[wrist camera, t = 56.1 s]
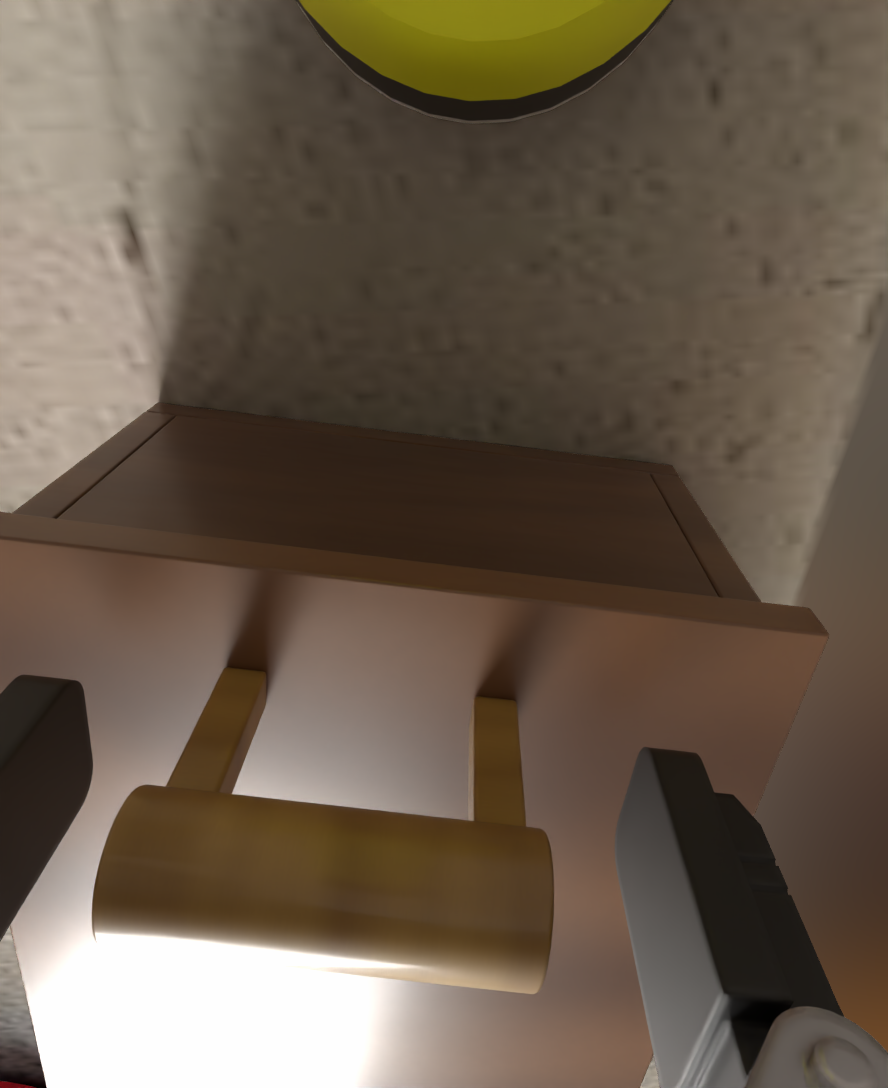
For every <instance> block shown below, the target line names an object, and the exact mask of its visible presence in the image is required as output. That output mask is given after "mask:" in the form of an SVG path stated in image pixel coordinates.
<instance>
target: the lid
mask: <svg viewBox="0 0 888 1088" xmlns="http://www.w3.org/2000/svg"><path fill="white" fill-rule="evenodd" d="M828 639H829V633H828V632H827V630H826V629H825V628H824V626H823V625H822V624H821V622H820V621H819V620H818V618H817V617H816V616H815V615H814V613H813V612H812V610H811V609H809V608H805V607H797V606H789V605H780V604H772V603H763V602H755V601H747V600H738V599H730V598H721V597H713V596H704V595H696V594H688V593H679V592H671V591H662V590H654V589H645V588H637V587H629V586H620V585H612V584H603V583H595V582H586V581H578V580H569V579H561V578H553V577H544V576H536V575H527V574H519V573H510V572H502V571H494V570H485V569H477V568H468V567H460V566H451V565H443V564H435V563H426V562H418V561H409V560H401V559H392V558H384V557H376V556H367V555H359V554H350V553H342V552H333V551H325V550H317V549H308V548H300V547H291V546H283V545H274V544H266V543H258V542H249V541H241V540H232V539H224V538H215V537H207V536H198V535H190V534H182V533H173V532H165V531H156V530H148V529H139V528H131V527H123V526H114V525H106V524H97V523H89V522H80V521H72V520H64V519H55V518H47V517H38V516H30V515H21V514H13V513H5V512H0V694H1V693H2V692H3V691H4V690H5V688H6V687H7V686H8V685H9V684H10V683H11V682H12V681H13V680H14V679H15V678H16V677H18V676H20V675H34V676H43V677H52V678H60V679H69V680H76V681H79V682H80V683H81V685H82V687H83V690H84V695H85V702H86V710H87V718H88V726H89V733H90V741H91V749H92V756H93V774H92V780H91V784H90V788H89V791H88V794H87V797H86V799H85V802H84V804H83V806H82V807H81V809H80V811H79V813H78V814H77V816H76V817H75V819H74V821H73V822H72V824H71V826H70V827H69V829H68V831H67V832H66V834H65V836H64V837H63V839H62V841H61V842H60V844H59V845H58V847H57V849H56V850H55V852H54V854H53V855H52V857H51V859H50V860H49V862H48V864H47V865H46V867H45V869H44V870H43V872H42V873H41V875H40V877H39V878H38V880H37V882H36V883H35V885H34V887H33V888H32V890H31V892H30V893H29V895H28V896H27V898H26V900H25V901H24V903H23V905H22V906H21V908H20V910H19V911H18V913H17V915H16V916H15V918H14V920H13V921H12V923H11V924H10V929H11V933H12V938H13V942H14V946H15V951H16V955H17V960H18V964H19V968H20V973H21V977H22V982H23V986H24V990H25V995H26V999H27V1003H28V1008H29V1012H30V1017H31V1021H32V1025H33V1030H34V1034H35V1039H36V1043H37V1047H38V1052H39V1056H40V1060H41V1065H42V1069H43V1074H44V1078H45V1082H46V1087H47V1088H640V1086H641V1083H642V1081H643V1079H644V1076H645V1074H646V1071H647V1069H648V1067H649V1064H650V1062H651V1060H652V1057H653V1055H654V1054H653V1049H652V1044H651V1039H650V1034H649V1029H648V1024H647V1019H646V1014H645V1009H644V1004H643V999H642V994H641V989H640V984H639V979H638V974H637V969H636V964H635V959H634V954H633V949H632V944H631V939H630V934H629V929H628V924H627V919H626V914H625V909H624V905H623V900H622V895H621V890H620V885H619V880H618V875H617V870H616V863H615V834H616V827H617V822H618V819H619V815H620V812H621V809H622V806H623V802H624V799H625V796H626V793H627V789H628V786H629V783H630V780H631V776H632V773H633V770H634V766H635V763H636V760H637V757H638V754H639V752H640V751H641V749H642V748H644V747H650V748H659V749H668V750H677V751H685V752H694V753H697V754H698V755H699V756H700V758H701V759H702V762H703V764H704V767H705V769H706V772H707V774H708V777H709V780H710V782H711V785H712V788H713V790H714V792H716V793H725V794H734V795H735V797H736V798H737V799H738V800H739V801H740V802H741V803H742V805H743V806H744V807H745V808H746V809H747V810H748V811H749V812H750V814H751V815H752V816H753V817H754V815H755V812H756V810H757V807H758V805H759V803H760V800H761V798H762V796H763V793H764V791H765V788H766V786H767V784H768V781H769V779H770V776H771V774H772V772H773V769H774V767H775V765H776V762H777V760H778V757H779V755H780V753H781V750H782V748H783V746H784V743H785V741H786V739H787V736H788V734H789V731H790V729H791V727H792V724H793V722H794V719H795V717H796V715H797V712H798V710H799V707H800V705H801V703H802V700H803V698H804V696H805V693H806V691H807V689H808V686H809V684H810V681H811V679H812V677H813V674H814V672H815V670H816V667H817V665H818V662H819V660H820V658H821V655H822V653H823V651H824V648H825V646H826V643H827V641H828Z"/></svg>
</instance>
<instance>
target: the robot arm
mask: <svg viewBox="0 0 888 1088" xmlns="http://www.w3.org/2000/svg"><path fill="white" fill-rule="evenodd" d="M92 774H93V756H92V749H91V741H90V733H89V726H88V718H87V710H86V702H85V695H84V690H83V687H82V685H81V683H80V682H79V681H76V680H69V679H60V678H52V677H43V676H34V675H20V676H18V677H16V678H15V679H14V680H13V681H12V682H11V683H10V684H9V685H8V686H7V687H6V688H5V690H4V691H3V692H2V693H1V694H0V941H1V939H2V938H3V936H4V934H5V933H6V931H7V929H8V928H9V926H10V924H11V923H12V921H13V920H14V918H15V916H16V915H17V913H18V911H19V910H20V908H21V906H22V905H23V903H24V901H25V900H26V898H27V896H28V895H29V893H30V892H31V890H32V888H33V887H34V885H35V883H36V882H37V880H38V878H39V877H40V875H41V873H42V872H43V870H44V869H45V867H46V865H47V864H48V862H49V860H50V859H51V857H52V855H53V854H54V852H55V850H56V849H57V847H58V845H59V844H60V842H61V841H62V839H63V837H64V836H65V834H66V832H67V831H68V829H69V827H70V826H71V824H72V822H73V821H74V819H75V817H76V816H77V814H78V813H79V811H80V809H81V807H82V806H83V804H84V802H85V799H86V797H87V794H88V791H89V788H90V784H91V780H92ZM615 863H616V870H617V875H618V880H619V885H620V890H621V895H622V900H623V905H624V909H625V914H626V919H627V924H628V929H629V934H630V939H631V944H632V949H633V954H634V959H635V964H636V969H637V974H638V979H639V984H640V989H641V994H642V999H643V1004H644V1009H645V1014H646V1019H647V1024H648V1029H649V1034H650V1039H651V1044H652V1049H653V1054H654V1059H655V1064H656V1069H657V1074H658V1079H659V1084H660V1088H888V1053H887V1051H886V1050H885V1049H884V1048H883V1047H882V1046H881V1045H880V1044H879V1043H878V1042H877V1041H876V1040H875V1039H874V1038H873V1037H872V1036H871V1035H870V1034H868V1033H867V1032H866V1031H864V1030H863V1029H862V1028H861V1027H859V1026H858V1025H856V1024H855V1023H853V1022H852V1021H850V1020H848V1019H846V1018H845V1017H844V1015H843V1013H842V1011H841V1009H840V1007H839V1005H838V1003H837V1001H836V998H835V996H834V994H833V991H832V989H831V987H830V984H829V982H828V980H827V977H826V975H825V973H824V970H823V968H822V966H821V964H820V961H819V960H818V957H817V954H816V952H815V950H814V947H813V945H812V943H811V941H810V938H809V936H808V934H807V931H806V929H805V927H804V924H803V922H802V920H801V917H800V915H799V913H798V910H797V908H796V906H795V903H794V901H793V899H792V896H791V895H788V893H787V889H788V887H787V885H786V883H785V880H784V878H783V876H782V873H781V871H780V869H779V866H776V865H775V857H774V855H773V852H772V850H771V848H770V845H769V843H768V841H767V839H766V836H765V834H764V832H763V829H762V827H761V825H760V824H759V823H758V822H757V820H756V819H755V818H754V817H753V816H752V815H751V814H750V812H749V811H748V810H747V809H746V808H745V807H744V806H743V805H742V803H741V802H740V801H739V800H738V799H737V798H736V797H735V795H734V794H725V793H716V792H714V790H713V788H712V785H711V782H710V780H709V777H708V774H707V772H706V769H705V767H704V764H703V762H702V759H701V758H700V756H699V755H698V754H697V753H694V752H685V751H677V750H668V749H659V748H650V747H644V748H642V749H641V751H640V752H639V754H638V757H637V760H636V763H635V766H634V770H633V773H632V776H631V780H630V783H629V786H628V789H627V793H626V796H625V799H624V802H623V806H622V809H621V812H620V815H619V819H618V822H617V827H616V834H615Z"/></svg>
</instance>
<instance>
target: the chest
mask: <svg viewBox="0 0 888 1088" xmlns="http://www.w3.org/2000/svg"><path fill="white" fill-rule="evenodd" d="M13 514H21V515H30V516H38V517H47V518H55V519H64V520H72V521H80V522H89V523H97V524H106V525H114V526H123V527H131V528H139V529H148V530H156V531H165V532H173V533H182V534H190V535H198V536H207V537H215V538H224V539H232V540H241V541H249V542H258V543H266V544H274V545H283V546H291V547H300V548H308V549H317V550H325V551H333V552H342V553H350V554H359V555H367V556H376V557H384V558H392V559H401V560H409V561H418V562H426V563H435V564H443V565H451V566H460V567H468V568H477V569H485V570H494V571H502V572H510V573H519V574H527V575H536V576H544V577H553V578H561V579H569V580H578V581H586V582H595V583H603V584H612V585H620V586H629V587H637V588H645V589H654V590H662V591H671V592H679V593H688V594H696V595H704V596H713V597H721V598H730V599H738V600H747V601H755V602H761V600H760V599H759V597H758V596H757V594H756V593H755V591H754V590H753V588H752V587H751V585H750V584H749V582H748V581H747V579H746V577H745V576H744V574H743V573H742V571H741V570H740V568H739V567H738V565H737V564H736V562H735V561H734V559H733V558H732V556H731V554H730V553H729V551H728V550H727V548H726V547H725V545H724V544H723V542H722V541H721V539H720V538H719V536H718V535H717V533H716V532H715V530H714V528H713V527H712V525H711V524H710V522H709V521H708V519H707V518H706V516H705V515H704V513H703V512H702V510H701V509H700V507H699V506H698V504H697V502H696V501H695V499H694V498H693V496H692V495H691V493H690V492H689V490H688V489H687V487H686V486H685V484H684V483H683V481H682V479H681V478H680V477H679V475H678V473H677V472H676V470H675V469H674V467H673V466H672V465H664V464H656V463H648V462H640V461H632V460H623V459H615V458H607V457H599V456H591V455H582V454H574V453H566V452H558V451H550V450H541V449H533V448H525V447H517V446H509V445H500V444H492V443H484V442H476V441H468V440H459V439H451V438H443V437H435V436H427V435H418V434H410V433H402V432H394V431H386V430H377V429H369V428H361V427H353V426H345V425H336V424H328V423H320V422H312V421H304V420H295V419H287V418H279V417H271V416H263V415H254V414H246V413H238V412H230V411H222V410H213V409H205V408H197V407H189V406H181V405H172V404H164V403H157V404H155V405H154V406H153V407H151V408H150V409H149V410H147V412H145V413H143V414H142V415H141V416H139V417H138V418H137V419H135V420H134V421H133V422H131V423H130V424H129V425H127V426H126V427H125V428H124V429H122V430H121V431H120V432H118V433H117V434H116V435H114V436H113V437H112V438H110V439H109V440H108V441H106V442H105V443H104V444H102V445H101V446H100V447H98V448H97V449H96V450H95V451H93V452H92V453H91V454H89V455H88V456H87V457H85V458H84V459H83V460H81V461H80V462H79V463H77V464H76V465H75V466H73V467H72V468H71V469H69V470H68V471H67V472H66V473H64V474H63V475H62V476H60V477H59V478H58V479H56V480H55V481H54V482H52V483H51V484H50V485H48V486H47V487H46V488H44V489H43V490H42V491H40V492H39V493H38V494H36V495H35V496H34V497H33V498H31V499H30V500H29V501H27V502H26V503H25V504H23V505H22V506H21V507H19V508H18V509H17V510H15V511H14V512H13Z"/></svg>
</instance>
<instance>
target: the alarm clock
mask: <svg viewBox="0 0 888 1088" xmlns="http://www.w3.org/2000/svg"><path fill="white" fill-rule="evenodd" d="M0 1088H36V1087H32V1086H27V1085H22V1084H17V1083H12V1082H6V1081H0Z"/></svg>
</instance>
